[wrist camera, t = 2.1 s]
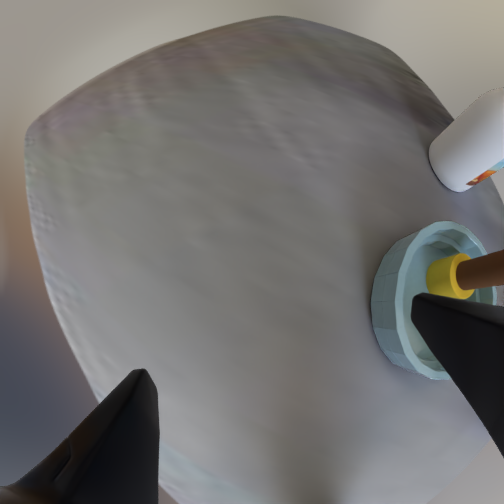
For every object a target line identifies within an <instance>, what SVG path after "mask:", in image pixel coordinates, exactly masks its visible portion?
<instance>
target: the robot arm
mask: <svg viewBox="0 0 504 504" xmlns="http://www.w3.org/2000/svg"><path fill="white" fill-rule="evenodd" d="M411 321H412V323H413V324H414V326H415V327H416V329H417V331H418V332H419V334H420V335H421V337H422V338H423V340H424V341H425V343H426V344H427V346H428V348H429V349H430V351H431V352H432V353H433V355H434V356H435V358H436V359H437V360H438V361H439V363H440V364H441V365H442V367H443V368H444V369H445V370H446V372H447V373H448V374H449V376H450V377H451V378H452V380H453V381H454V383H455V384H456V385H457V387H458V388H459V389H460V391H461V392H462V394H463V395H464V396H465V398H466V399H467V401H468V402H469V404H470V405H471V406H472V408H473V409H474V411H475V412H476V414H477V415H478V417H479V418H480V420H481V421H482V423H483V424H484V426H485V427H486V429H487V431H489V434H490V436H491V437H492V439H493V441H494V442H495V444H496V445H497V447H498V449H499V451H500V452H501V454H502V456H503V457H504V307H502V306H496V305H490V304H485V303H479V302H474V301H468V300H463V299H457V298H452V297H446V296H441V295H436V294H430V293H425V292H422V293H419V294H417V295H415V296H414V297H413V299H412V306H411ZM159 438H160V430H159V412H158V392H157V388H156V386H155V384H154V382H153V380H152V379H151V377H150V375H149V373H148V372H147V370H146V369H136V370H133V371H131V372H130V373H129V375H128V376H127V377H126V378H125V379H124V380H123V381H122V382H121V383H120V384H119V385H118V386H117V387H116V388H115V389H114V390H113V391H112V392H111V393H110V394H109V395H108V396H107V397H106V398H105V399H104V400H103V401H102V402H101V403H100V404H99V405H98V406H97V407H96V408H95V409H94V410H93V411H92V412H91V413H90V414H89V415H88V416H87V418H85V419H84V420H83V421H82V422H81V423H80V425H79V426H77V427H76V428H75V430H74V431H73V432H72V433H71V434H70V435H69V436H68V438H66V439H65V440H64V441H63V442H62V443H61V444H60V445H59V446H58V447H57V448H56V449H55V450H54V451H53V452H52V453H51V454H50V455H48V456H47V457H46V458H45V459H44V460H43V461H41V462H40V463H39V464H38V465H37V466H35V467H34V468H33V469H32V470H31V471H29V472H28V473H27V474H26V475H25V476H23V477H22V478H21V479H20V480H18V481H17V482H15V483H13V484H11V485H8V486H0V504H158V466H159Z"/></svg>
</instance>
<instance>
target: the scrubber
mask: <svg viewBox="0 0 504 504" xmlns="http://www.w3.org/2000/svg"><path fill="white" fill-rule="evenodd" d="M426 284H427V289H428V291H429V293H430V294H436V295H441V296H446V297H452V298H457V299H466V298H468V297H470V296H471V295H472V293H473V292H474V290H475V289H479V288H486V287H493V286H499V285H504V250H501V251H498V252H494V253H491V254H487V255H484V256H480V257H476V258H473V259H471V258H470V257H469V256H468V255H467V254H464V253H459V254H456V255H453V256H449V257H446V258H442V259H439V260H436V261H434V262H432V263H431V265H430V266H429V268H428V270H427V274H426Z"/></svg>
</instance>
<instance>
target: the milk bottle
mask: <svg viewBox="0 0 504 504" xmlns="http://www.w3.org/2000/svg"><path fill="white" fill-rule="evenodd" d="M429 160H430V163H431V166H432V168H433V170H434V172H435V174H436V175H437V177H438V178H439V180H440V181H441V182H442V183H443V184H444V185H445V186H446V187H447V188H449V189H450V190H452V191H456V192H463V191H465V190H467V189H469V188H471V187H472V186H474V185H476V184H477V183H479V182H481V181H482V180H484V179H486V178H487V177H489V176H491V175H492V174H494V173H495V172H497V171H498V170H500V169H501V168H503V167H504V88H498V89H493V90H490V91H488V92H486V93H484V94H483V95H481V96H480V97H479V98H478V99H477V100H475V101H474V102H473V103H472V104H471V105H470V106H469V107H468V108H467V109H466V110H465V111H464V112H463V113H462V114H461V115H460V116H459V117H457V118H456V119H455V120H454V121H453V122H452V123H451V124H450V125H449V126H448V127H447V128H446V129H445V130H444V131H443V132H442V133H441V134H440V135H439V136H438V137H437V138H436V139H435V140H434V141H433V142H432V143H431V145H430V148H429Z"/></svg>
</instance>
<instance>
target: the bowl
mask: <svg viewBox="0 0 504 504" xmlns="http://www.w3.org/2000/svg"><path fill="white" fill-rule="evenodd" d="M459 253H464V254H467V255H468V256H469V257H470V258H471V259H473V258H476V257H480V256H484V255H487V252H486V251H485V249H484V247H483V245H482V244H481V242H480V240H479V239H478V238H477V237H476V236H475V235H474V234H473V233H472V232H471V231H470V230H469V229H468V228H466V227H464V226H462V225H460V224H458V223H455V222H453V221H436V222H434V223H432V224H430V225H428V226H426V227H424V228H421V229H419V230H417V231H415V232H413V233H411V234H409V235H407V236H405V237H404V238H402V239H400V240H398V241H397V242H396V243H395V244H394V245H393V246H392V247H391V249H390V250H389V251H388V252H387V253H386V254H385V255H384V257H383V259H382V262H381V264H380V266H379V269H378V271H377V273H376V275H375V278H374V284H373V290H372V296H371V312H372V325H373V329H374V332H375V335H376V337H377V340H378V343H379V346H380V348H381V349H382V351H383V352H384V353H385V354H386V356H387V357H388V358H389V359H390V361H391V362H392V363H393V364H395V365H397V366H399V367H400V368H402V369H404V370H406V371H408V372H411V373H414V374H417V375H420V376H423V377H426V378H429V379H432V380H444V379H451V377H450V376H449V374H448V373H447V372H446V370H445V369H444V368H443V367H442V365H441V364H440V363H439V361H438V360H437V359H436V358H435V356H434V355H433V353H432V352H431V351H430V349H429V348H428V346H427V344H426V343H425V341H424V340H423V338H422V337H421V335H420V334H419V332H418V331H417V329H416V327H415V326H414V324H413V323H412V321H411V306H412V299H413V297H414V296H415V295H417V294H419V293H422V292H425V293H429V291H428V289H427V284H426V274H427V270H428V268H429V266H430V265H431V263H432V262H434V261H436V260H439V259H442V258H446V257H449V256H453V255H456V254H459ZM463 300H468V301H474V302H479V303H485V304H490V305H496V301H497V295H496V286H493V287H486V288H479V289H475V290H474V292H473V293H472V295H471V296H470V297H468V298H466V299H463Z"/></svg>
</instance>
